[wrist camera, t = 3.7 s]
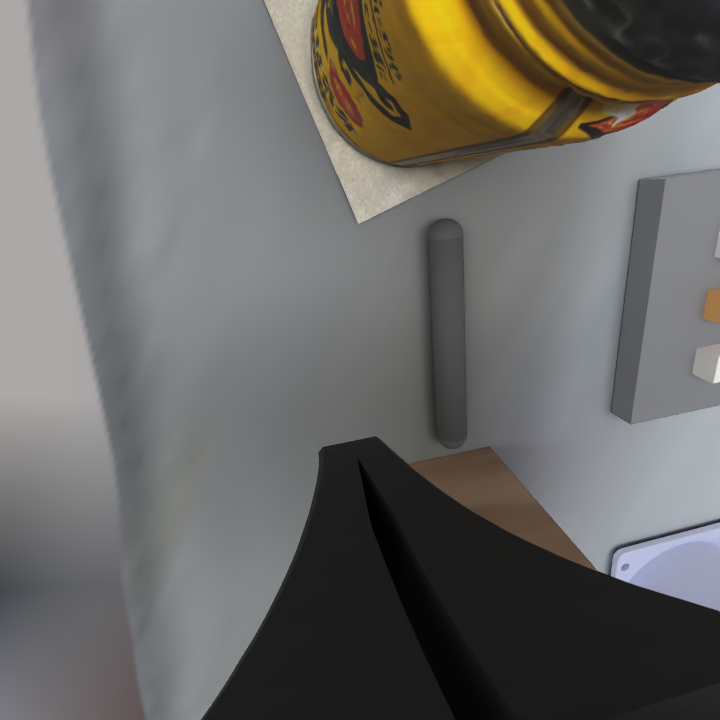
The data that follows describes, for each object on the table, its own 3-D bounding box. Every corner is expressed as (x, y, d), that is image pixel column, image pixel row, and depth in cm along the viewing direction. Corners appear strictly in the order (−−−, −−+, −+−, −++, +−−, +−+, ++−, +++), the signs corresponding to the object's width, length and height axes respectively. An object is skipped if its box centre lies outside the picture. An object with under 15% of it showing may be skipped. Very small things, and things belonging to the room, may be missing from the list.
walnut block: (488, 517, 22) (584, 656, 15) (409, 536, 21) (474, 689, 15) (489, 446, 20) (596, 568, 14) (403, 465, 19) (473, 601, 13)
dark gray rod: (460, 436, 19) (471, 451, 18) (433, 441, 19) (443, 457, 18) (454, 215, 16) (468, 217, 15) (422, 219, 16) (434, 222, 15)
